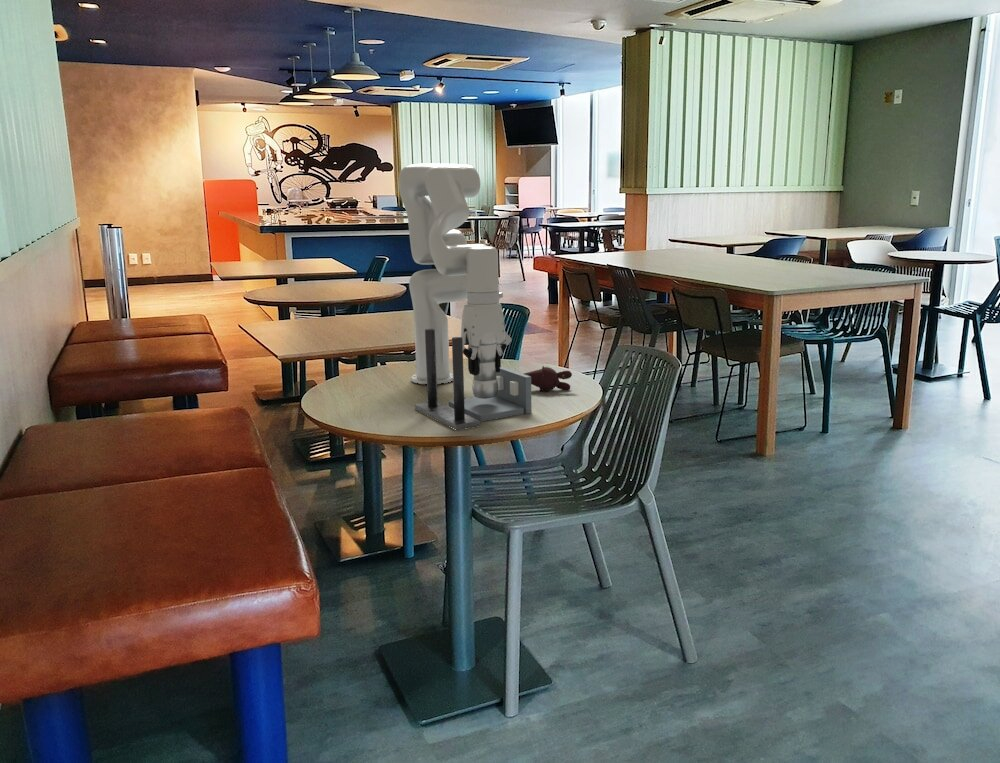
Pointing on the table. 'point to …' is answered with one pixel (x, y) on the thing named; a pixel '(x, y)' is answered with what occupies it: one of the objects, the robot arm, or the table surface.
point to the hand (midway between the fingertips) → (484, 372)
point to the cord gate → (441, 411)
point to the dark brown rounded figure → (549, 379)
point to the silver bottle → (486, 368)
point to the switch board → (502, 398)
